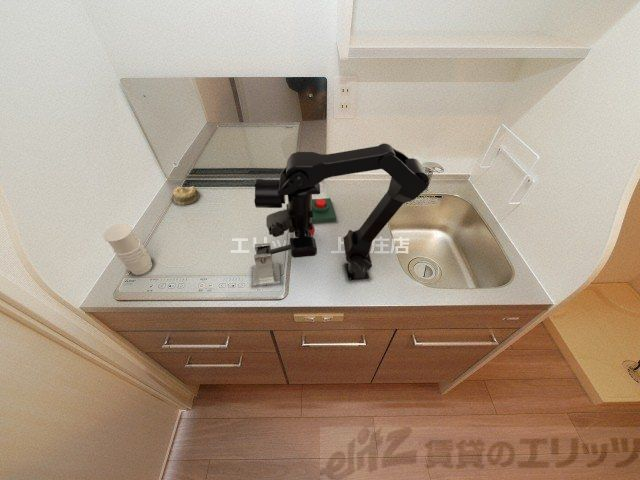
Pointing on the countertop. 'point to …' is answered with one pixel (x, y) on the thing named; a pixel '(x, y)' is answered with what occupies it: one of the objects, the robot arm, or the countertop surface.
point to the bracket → (265, 267)
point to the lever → (274, 250)
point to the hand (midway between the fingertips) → (300, 248)
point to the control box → (323, 212)
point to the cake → (185, 195)
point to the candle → (128, 248)
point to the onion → (312, 230)
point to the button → (320, 203)
